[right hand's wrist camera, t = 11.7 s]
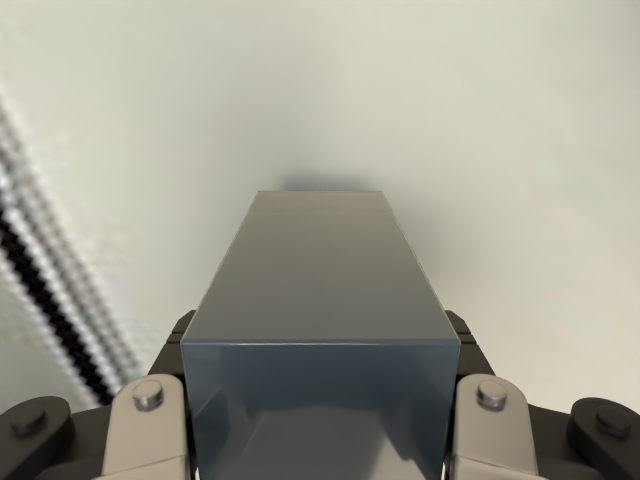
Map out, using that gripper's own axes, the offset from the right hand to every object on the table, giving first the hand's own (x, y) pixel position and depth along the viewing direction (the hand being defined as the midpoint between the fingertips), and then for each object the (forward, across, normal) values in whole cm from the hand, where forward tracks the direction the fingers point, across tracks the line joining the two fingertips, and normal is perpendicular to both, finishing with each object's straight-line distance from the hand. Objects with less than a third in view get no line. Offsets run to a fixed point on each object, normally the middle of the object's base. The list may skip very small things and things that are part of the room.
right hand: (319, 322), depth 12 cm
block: (+5, 0, 0) cm, 5 cm away
